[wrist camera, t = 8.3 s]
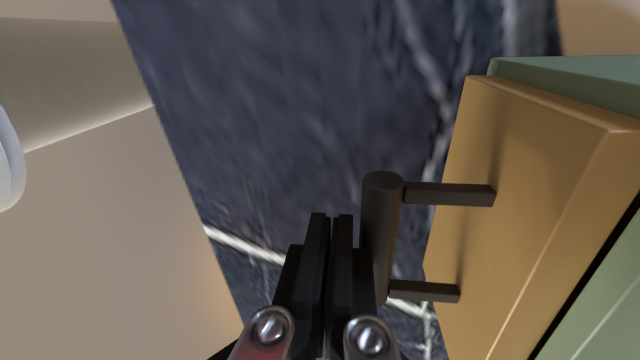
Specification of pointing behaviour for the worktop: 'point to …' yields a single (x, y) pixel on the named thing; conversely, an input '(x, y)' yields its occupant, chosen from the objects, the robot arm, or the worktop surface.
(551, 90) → the green box
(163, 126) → the worktop surface
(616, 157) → the wooden pull-out drawer
